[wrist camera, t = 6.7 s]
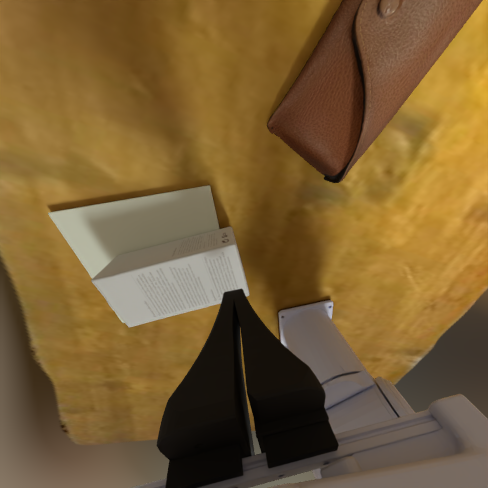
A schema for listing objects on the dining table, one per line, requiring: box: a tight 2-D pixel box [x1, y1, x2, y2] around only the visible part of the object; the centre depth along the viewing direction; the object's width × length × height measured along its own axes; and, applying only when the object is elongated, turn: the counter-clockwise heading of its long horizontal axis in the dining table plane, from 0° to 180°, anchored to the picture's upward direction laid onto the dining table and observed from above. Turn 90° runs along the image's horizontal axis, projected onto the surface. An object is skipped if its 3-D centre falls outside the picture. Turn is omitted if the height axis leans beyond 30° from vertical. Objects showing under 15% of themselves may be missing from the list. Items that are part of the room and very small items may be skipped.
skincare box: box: [92, 227, 249, 327], centre depth 17 cm, size 6×4×12 cm
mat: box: [48, 185, 220, 323], centre depth 19 cm, size 14×14×1 cm
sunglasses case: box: [267, 0, 482, 183], centre depth 13 cm, size 18×7×7 cm, turn 150°
